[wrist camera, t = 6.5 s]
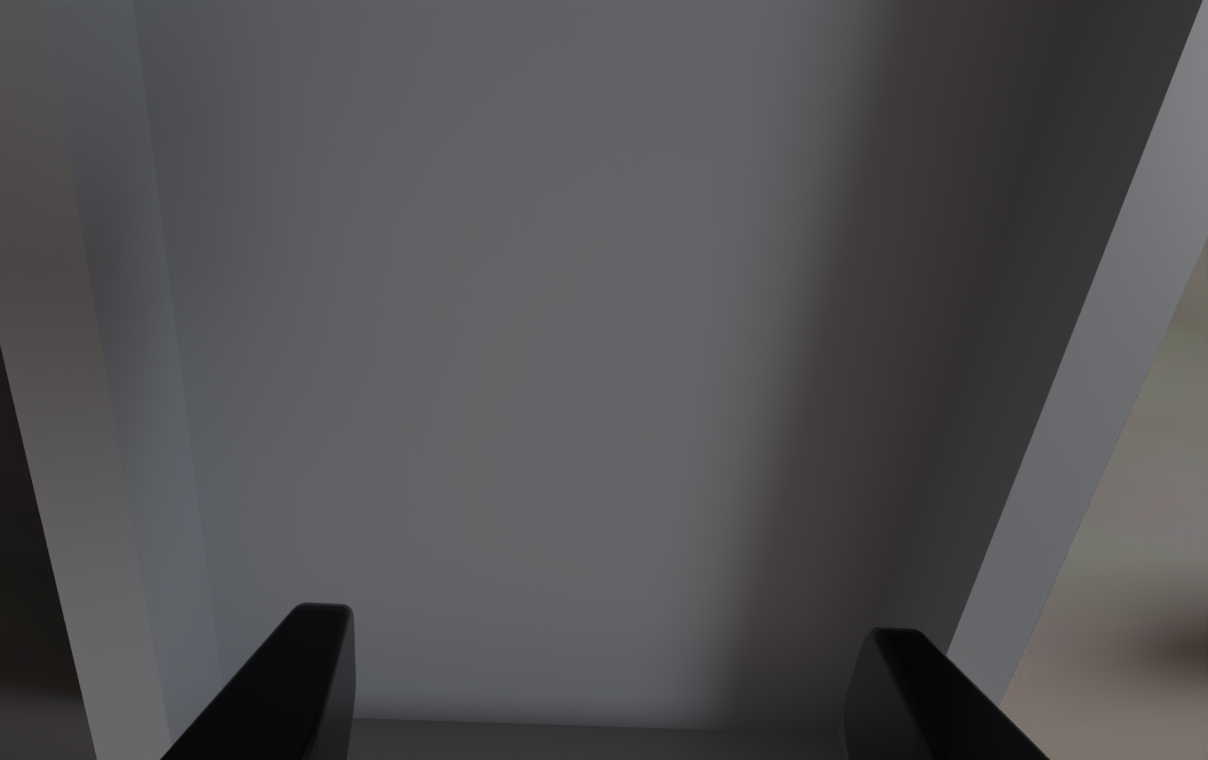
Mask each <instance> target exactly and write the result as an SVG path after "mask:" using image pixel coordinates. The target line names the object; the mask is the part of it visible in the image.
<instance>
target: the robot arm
mask: <svg viewBox="0 0 1208 760" xmlns="http://www.w3.org/2000/svg"><path fill="white" fill-rule="evenodd" d="M355 691H356V663H355V632H354V614H353V611H352V609H351V608H350V607H349V606H348V605H346V604H335V603H311V602H305V603H301V604H299V605H297V606H296V607H294V608H293V609H292V610H291V612H290V613H289V614H288V615H287V616H286V617H285V618H284V619H283V621H282V622H281V623H280V624H279V625H278V626H277V627H276V629H275V630H274V631H273V632H272V633H271V634H270V635H269V636H268V638H267V639H266V640H265V641H264V642H263V643H262V644H261V646H260V647H259V648H258V649H257V650H256V651H255V652H254V653H253V655H252V656H251V657H250V658H249V659H248V660H247V661H246V663H245V664H244V665H243V666H242V667H241V668H240V669H239V670H238V672H237V673H236V674H235V675H234V676H233V677H232V678H231V680H230V681H229V682H228V683H227V684H226V685H225V686H224V687H223V689H222V690H221V691H220V692H219V693H218V694H217V695H216V697H215V698H214V699H213V700H212V701H211V702H210V703H209V704H208V706H207V707H206V708H205V709H204V710H203V711H202V712H201V714H200V715H199V716H198V717H197V718H196V719H195V720H194V721H193V723H192V724H191V725H190V726H189V727H188V728H187V729H186V731H185V732H184V733H183V734H182V735H181V736H180V737H179V738H178V740H177V741H176V742H175V743H174V744H173V745H172V746H171V748H170V749H169V750H168V751H167V752H166V753H165V754H164V756H163V757H162V758H161V759H160V760H347V755H348V747H349V740H350V733H351V725H352V718H353V711H354V703H355ZM843 724H844V732H845V740H846V747H847V754H848V760H1050V759H1049V758H1048V757H1047V756H1046V755H1045V754H1044V753H1043V752H1042V751H1041V750H1040V749H1039V748H1038V747H1037V746H1036V745H1035V744H1034V743H1033V742H1032V741H1031V740H1030V739H1029V738H1028V737H1027V736H1026V735H1025V734H1024V733H1023V732H1022V731H1021V730H1020V729H1019V728H1018V727H1017V726H1016V725H1015V724H1014V723H1013V722H1012V721H1011V720H1010V719H1009V718H1008V717H1007V716H1006V715H1005V714H1004V713H1003V712H1002V711H1001V710H1000V709H999V708H998V707H997V706H996V705H995V704H994V703H993V702H992V701H991V700H990V699H989V698H988V697H987V696H986V695H985V694H984V693H983V692H982V691H981V690H980V689H979V688H978V687H977V686H976V685H975V684H974V683H973V682H972V681H971V680H970V679H969V678H968V677H967V676H966V675H965V674H964V673H963V672H962V671H961V670H960V669H959V668H958V667H957V666H956V665H955V664H954V663H953V662H952V661H951V660H950V659H949V658H948V657H947V656H946V655H945V654H944V653H943V652H942V651H941V650H940V649H939V648H938V647H937V646H936V645H935V644H934V643H933V642H932V641H931V640H930V639H929V638H928V637H927V636H926V635H925V634H924V633H922V632H920V631H919V630H916V629H912V628H890V627H875V628H871V629H870V630H868V632H867V633H866V634H865V636H864V638H863V640H862V643H861V646H860V649H859V652H858V655H857V658H856V661H855V664H854V667H853V671H852V674H851V677H850V680H849V683H848V686H847V689H846V692H845V696H844V702H843Z"/></svg>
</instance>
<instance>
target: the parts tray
mask: <svg viewBox="0 0 1208 760" xmlns="http://www.w3.org/2000/svg"><path fill="white" fill-rule="evenodd" d="M1207 238H1208V0H0V346H1V350H2V355H3V359H4V363H5V368H6V372H7V376H8V380H9V385H10V389H11V393H12V397H13V402H14V406H15V410H16V415H17V419H18V423H19V427H20V432H21V436H22V440H23V444H24V449H25V453H26V457H27V462H28V466H29V470H30V474H31V479H32V483H33V487H34V491H35V496H36V500H37V504H38V509H39V513H40V517H41V521H42V526H43V530H44V534H45V538H46V543H47V547H48V551H49V556H50V560H51V564H52V568H53V573H54V577H55V581H56V585H57V590H58V594H59V598H60V603H61V607H62V611H63V615H64V620H65V624H66V628H67V632H68V637H69V641H70V645H71V650H72V654H73V658H74V662H75V667H76V671H77V675H78V679H79V684H80V688H81V692H82V697H83V701H84V705H85V709H86V714H87V718H88V722H89V726H90V731H91V735H92V739H93V744H94V748H95V752H96V756H97V760H160V759H161V758H162V757H163V756H164V754H165V753H166V752H167V751H168V750H169V749H170V748H171V746H172V745H173V744H174V743H175V742H176V741H177V740H178V738H179V737H180V736H181V735H182V734H183V733H184V732H185V731H186V729H187V728H188V727H189V726H190V725H191V724H192V723H193V721H194V720H195V719H196V718H197V717H198V716H199V715H200V714H201V712H202V711H203V710H204V709H205V708H206V707H207V706H208V704H209V703H210V702H211V701H212V700H213V699H214V698H215V697H216V695H217V694H218V693H219V692H220V691H221V690H222V689H223V687H224V686H225V685H226V684H227V683H228V682H229V681H230V680H231V678H232V677H233V676H234V675H235V674H236V673H237V672H238V670H239V669H240V668H241V667H242V666H243V665H244V664H245V663H246V661H247V660H248V659H249V658H250V657H251V656H252V655H253V653H254V652H255V651H256V650H257V649H258V648H259V647H260V646H261V644H262V643H263V642H264V641H265V640H266V639H267V638H268V636H269V635H270V634H271V633H272V632H273V631H274V630H275V629H276V627H277V626H278V625H279V624H280V623H281V622H282V621H283V619H284V618H285V617H286V616H287V615H288V614H289V613H290V612H291V610H292V609H293V608H294V607H296V606H297V605H299V604H301V603H305V602H311V603H335V604H346V605H348V606H349V607H350V608H351V609H352V611H353V614H354V632H355V663H356V691H355V703H354V711H353V718H352V725H351V733H350V740H349V747H348V755H347V760H848V754H847V747H846V740H845V732H844V724H843V702H844V696H845V692H846V689H847V686H848V683H849V680H850V677H851V674H852V671H853V667H854V664H855V661H856V658H857V655H858V652H859V649H860V646H861V643H862V640H863V638H864V636H865V634H866V633H867V632H868V630H870V629H871V628H875V627H890V628H912V629H916V630H919V631H920V632H922V633H924V634H925V635H926V636H927V637H928V638H929V639H930V640H931V641H932V642H933V643H934V644H935V645H936V646H937V647H938V648H939V649H940V650H941V651H942V652H943V653H944V654H945V655H946V656H947V657H948V658H949V659H950V660H951V661H952V662H953V663H954V664H955V665H956V666H957V667H958V668H959V669H960V670H961V671H962V672H963V673H964V674H965V675H966V676H967V677H968V678H969V679H970V680H971V681H972V682H973V683H974V684H975V685H976V686H977V687H978V688H979V689H980V690H981V691H982V692H983V693H984V694H985V695H986V696H987V697H988V698H989V699H990V700H991V701H992V702H993V703H994V704H995V705H996V706H997V707H999V705H1000V703H1001V700H1002V698H1003V696H1004V694H1005V691H1006V689H1007V687H1008V685H1009V682H1010V680H1011V678H1012V676H1013V673H1014V671H1015V669H1016V667H1017V665H1018V662H1019V660H1020V658H1021V656H1022V653H1023V651H1024V649H1025V647H1026V644H1027V642H1028V640H1029V638H1030V635H1031V633H1032V631H1033V629H1034V626H1035V624H1036V622H1037V620H1038V617H1039V615H1040V613H1041V611H1042V608H1043V606H1044V604H1045V602H1046V599H1047V597H1048V595H1049V593H1050V590H1051V588H1052V586H1053V584H1054V581H1055V579H1056V577H1057V575H1058V573H1059V570H1060V568H1061V566H1062V564H1063V561H1064V559H1065V557H1066V555H1067V552H1068V550H1069V548H1070V546H1071V543H1072V541H1073V539H1074V537H1075V534H1076V532H1077V530H1078V528H1079V525H1080V523H1081V521H1082V519H1083V516H1084V514H1085V512H1086V510H1087V507H1088V505H1089V503H1090V501H1091V498H1092V496H1093V494H1094V492H1095V489H1096V487H1097V485H1098V483H1099V481H1100V478H1101V476H1102V474H1103V472H1104V469H1105V467H1106V465H1107V463H1108V460H1109V458H1110V456H1111V454H1112V451H1113V449H1114V447H1115V445H1116V442H1117V440H1118V438H1119V436H1120V433H1121V431H1122V429H1123V427H1124V424H1125V422H1126V420H1127V418H1128V415H1129V413H1130V411H1131V409H1132V406H1133V404H1134V402H1135V400H1136V397H1137V395H1138V393H1139V391H1140V389H1141V386H1142V384H1143V382H1144V380H1145V377H1146V375H1147V373H1148V371H1149V368H1150V366H1151V364H1152V362H1153V359H1154V357H1155V355H1156V353H1157V350H1158V348H1159V346H1160V344H1161V341H1162V339H1163V337H1164V335H1165V332H1166V330H1167V328H1168V326H1169V323H1170V321H1171V319H1172V317H1173V314H1174V312H1175V310H1176V308H1177V305H1178V303H1179V301H1180V299H1181V296H1182V294H1183V292H1184V290H1185V288H1186V285H1187V283H1188V281H1189V279H1190V276H1191V274H1192V272H1193V270H1194V267H1195V265H1196V263H1197V261H1198V258H1199V256H1200V254H1201V252H1202V249H1203V247H1204V245H1205V243H1206V240H1207Z"/></svg>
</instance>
